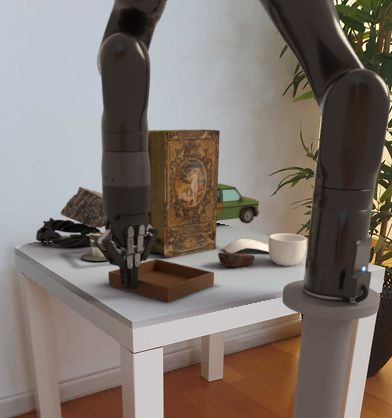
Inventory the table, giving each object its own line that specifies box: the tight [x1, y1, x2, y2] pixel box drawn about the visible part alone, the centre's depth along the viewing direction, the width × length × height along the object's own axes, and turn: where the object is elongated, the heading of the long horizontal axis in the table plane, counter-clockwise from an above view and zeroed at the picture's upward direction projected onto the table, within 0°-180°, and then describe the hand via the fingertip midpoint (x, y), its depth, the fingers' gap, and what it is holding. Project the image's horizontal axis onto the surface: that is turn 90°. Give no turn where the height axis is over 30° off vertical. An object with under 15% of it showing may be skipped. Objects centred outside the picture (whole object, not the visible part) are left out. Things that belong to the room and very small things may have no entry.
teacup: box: [267, 232, 308, 267], centre depth 115 cm, size 10×8×5 cm
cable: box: [35, 217, 102, 248], centre depth 130 cm, size 17×14×4 cm
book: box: [147, 129, 221, 258], centre depth 119 cm, size 16×6×25 cm, turn 132°
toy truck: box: [217, 183, 260, 224], centre depth 151 cm, size 11×21×10 cm, turn 120°
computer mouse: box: [224, 238, 269, 254], centre depth 125 cm, size 9×12×3 cm
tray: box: [108, 258, 215, 303], centre depth 99 cm, size 14×12×2 cm
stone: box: [217, 252, 256, 268], centre depth 113 cm, size 7×7×3 cm
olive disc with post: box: [80, 232, 108, 262], centre depth 116 cm, size 12×12×5 cm
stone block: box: [60, 186, 107, 229], centre depth 131 cm, size 14×9×8 cm, turn 176°
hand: (129, 288), depth 93 cm, fingers closed
